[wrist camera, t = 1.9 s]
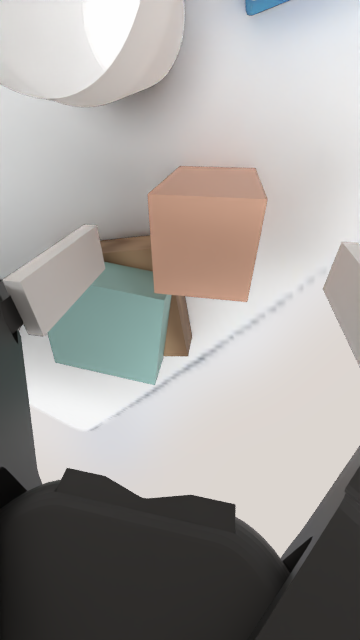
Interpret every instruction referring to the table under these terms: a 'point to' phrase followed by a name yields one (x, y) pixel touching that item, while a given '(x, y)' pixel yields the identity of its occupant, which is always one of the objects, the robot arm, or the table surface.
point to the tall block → (206, 231)
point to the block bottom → (140, 256)
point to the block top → (115, 326)
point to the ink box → (260, 5)
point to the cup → (88, 47)
